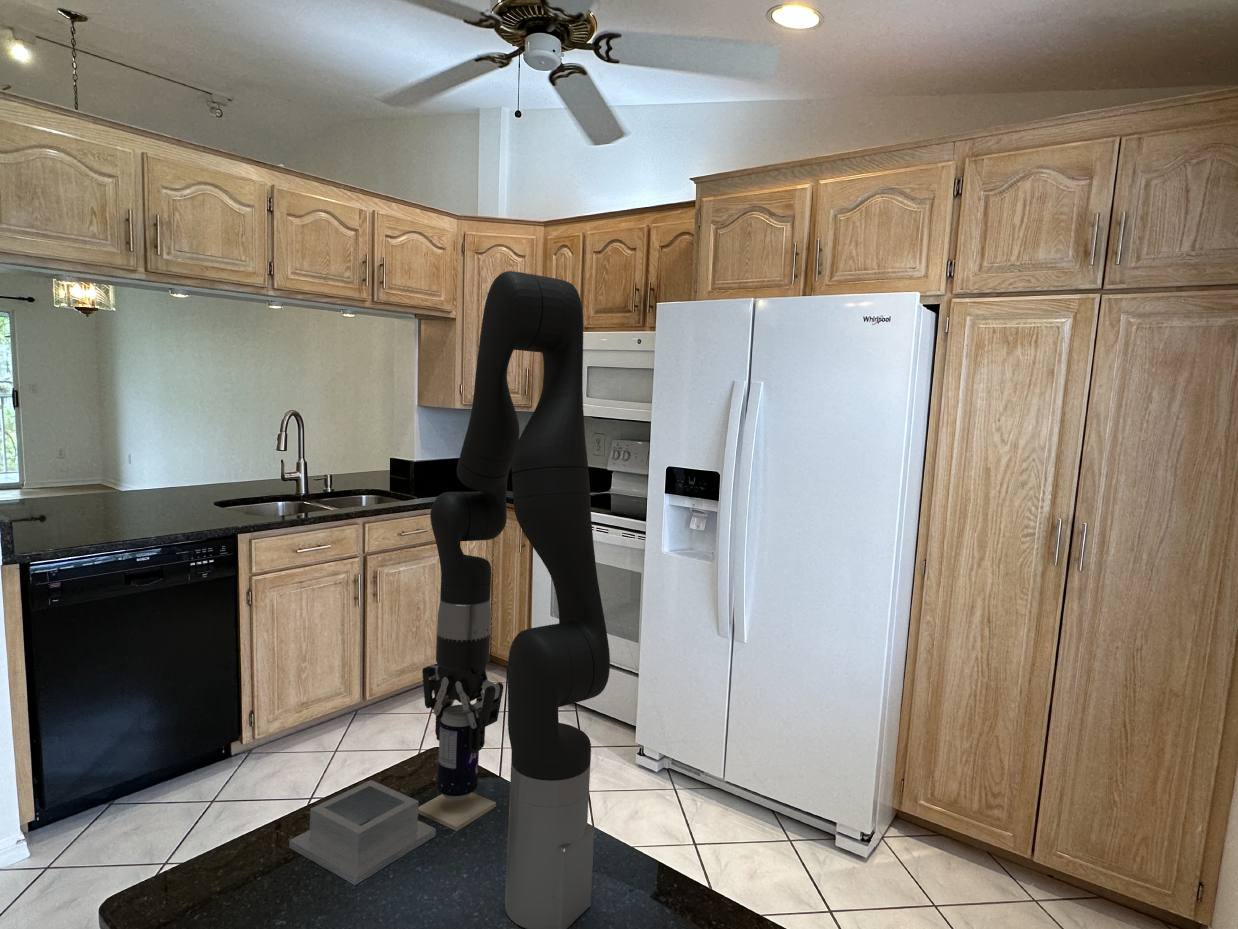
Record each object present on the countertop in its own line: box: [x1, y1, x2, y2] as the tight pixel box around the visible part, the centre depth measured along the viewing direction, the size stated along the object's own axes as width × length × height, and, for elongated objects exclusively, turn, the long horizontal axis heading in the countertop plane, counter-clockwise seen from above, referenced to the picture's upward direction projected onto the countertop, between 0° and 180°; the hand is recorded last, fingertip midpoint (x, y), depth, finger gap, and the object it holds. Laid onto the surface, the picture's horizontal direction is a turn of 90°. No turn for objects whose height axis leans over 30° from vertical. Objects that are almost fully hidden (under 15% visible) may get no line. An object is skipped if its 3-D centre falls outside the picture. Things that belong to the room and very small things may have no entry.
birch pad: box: [418, 792, 497, 832], centre depth 103 cm, size 8×8×1 cm
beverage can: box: [436, 704, 480, 799], centre depth 103 cm, size 6×6×12 cm
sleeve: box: [288, 779, 437, 886], centre depth 94 cm, size 13×13×5 cm
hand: (459, 744), depth 103 cm, fingers closed on beverage can, 5 cm apart
